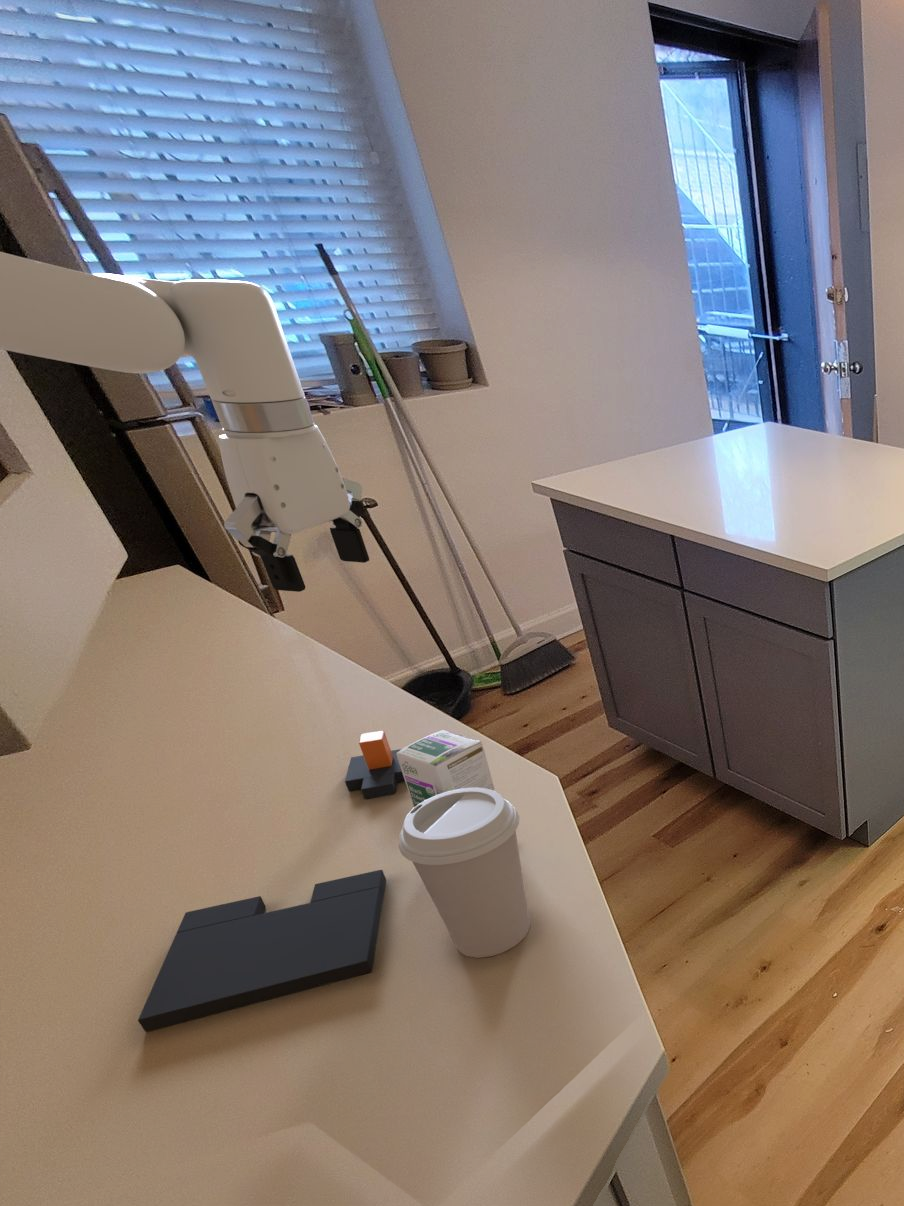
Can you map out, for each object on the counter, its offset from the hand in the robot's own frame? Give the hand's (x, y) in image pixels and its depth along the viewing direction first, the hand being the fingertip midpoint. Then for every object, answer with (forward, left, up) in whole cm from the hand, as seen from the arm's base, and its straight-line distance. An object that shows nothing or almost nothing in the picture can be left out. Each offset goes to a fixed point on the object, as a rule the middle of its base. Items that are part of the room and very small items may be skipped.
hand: (324, 574), depth 90 cm
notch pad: (-7, -32, -26) cm, 42 cm away
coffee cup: (+11, -38, -26) cm, 48 cm away
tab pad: (-1, -3, -26) cm, 26 cm away
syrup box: (+9, -24, -26) cm, 37 cm away
